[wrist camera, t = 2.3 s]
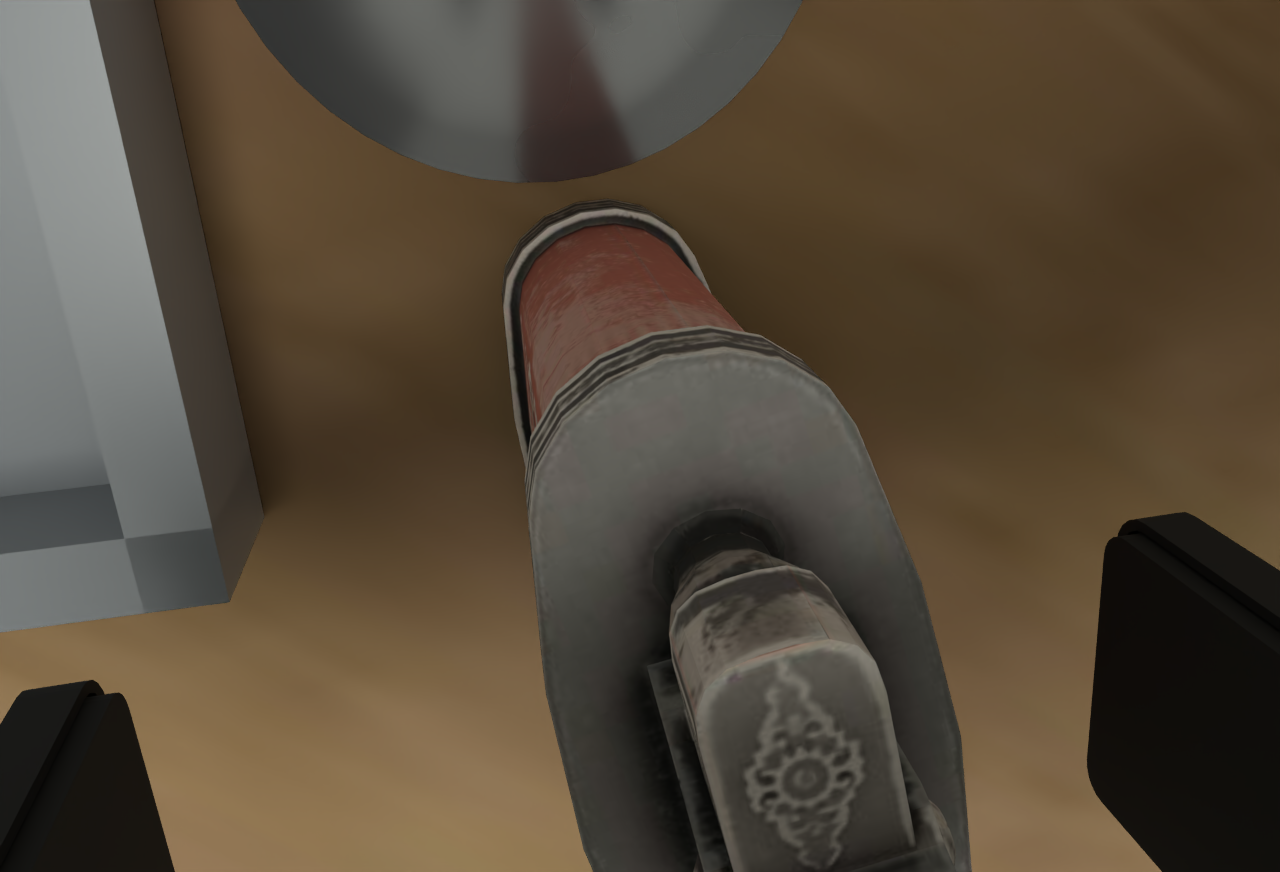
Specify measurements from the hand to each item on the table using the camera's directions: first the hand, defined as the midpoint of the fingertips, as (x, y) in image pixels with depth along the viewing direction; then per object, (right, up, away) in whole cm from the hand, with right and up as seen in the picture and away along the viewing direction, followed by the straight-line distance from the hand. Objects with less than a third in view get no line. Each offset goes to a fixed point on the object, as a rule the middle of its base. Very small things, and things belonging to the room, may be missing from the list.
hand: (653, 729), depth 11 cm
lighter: (0, +2, +6) cm, 7 cm away
